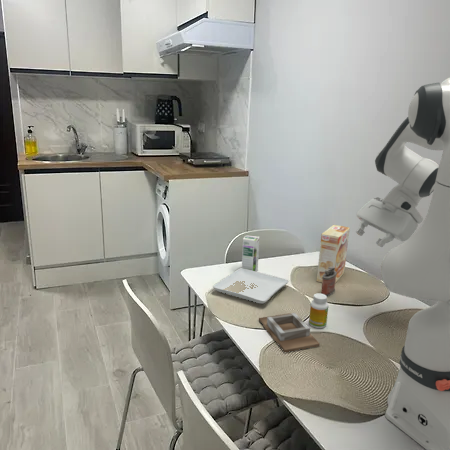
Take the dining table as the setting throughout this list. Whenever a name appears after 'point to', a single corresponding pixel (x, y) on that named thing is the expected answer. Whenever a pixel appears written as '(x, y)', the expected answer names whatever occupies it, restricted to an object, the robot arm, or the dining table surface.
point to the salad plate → (259, 294)
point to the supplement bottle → (318, 311)
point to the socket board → (289, 332)
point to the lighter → (329, 281)
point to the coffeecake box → (333, 251)
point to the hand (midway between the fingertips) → (368, 239)
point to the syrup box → (250, 253)
